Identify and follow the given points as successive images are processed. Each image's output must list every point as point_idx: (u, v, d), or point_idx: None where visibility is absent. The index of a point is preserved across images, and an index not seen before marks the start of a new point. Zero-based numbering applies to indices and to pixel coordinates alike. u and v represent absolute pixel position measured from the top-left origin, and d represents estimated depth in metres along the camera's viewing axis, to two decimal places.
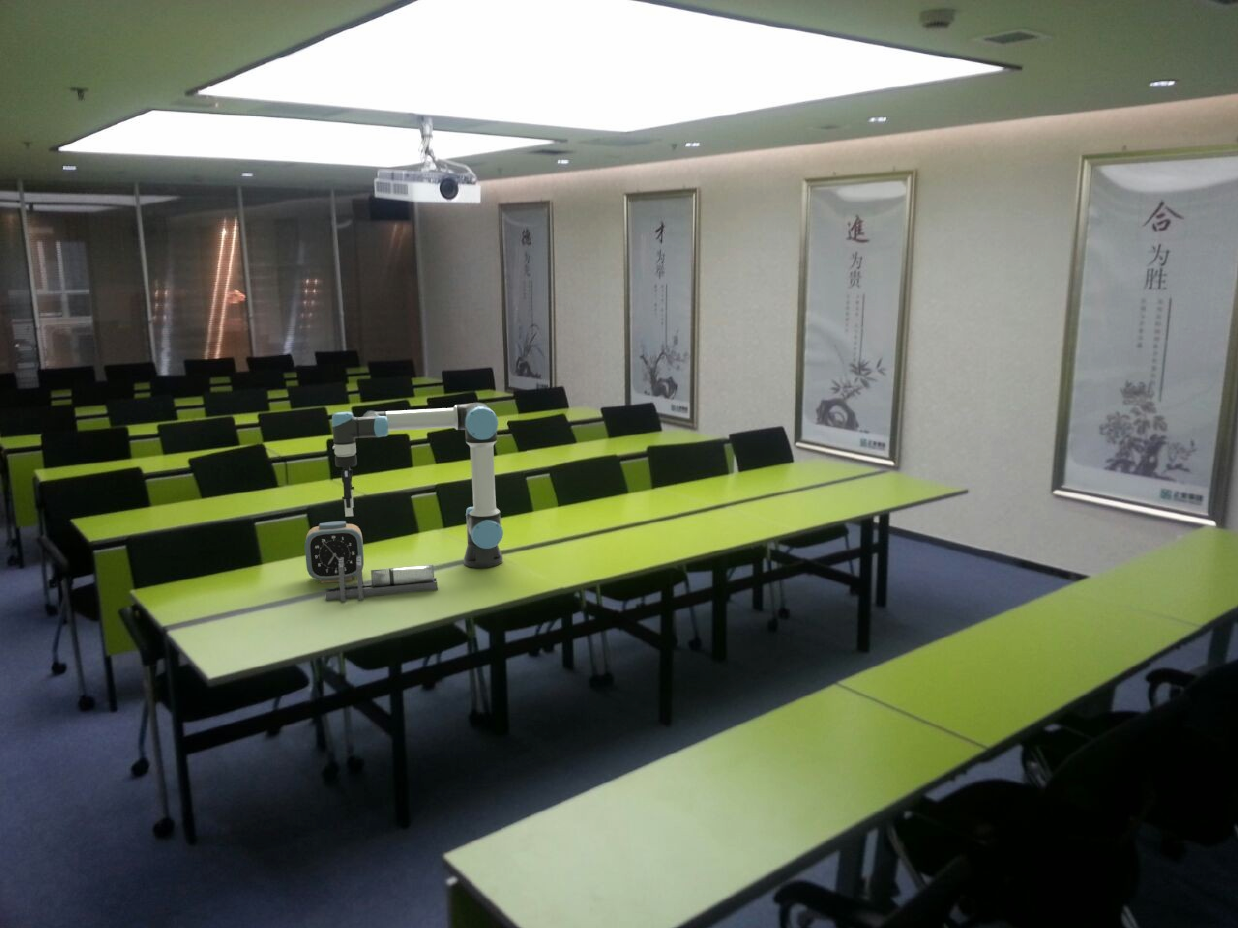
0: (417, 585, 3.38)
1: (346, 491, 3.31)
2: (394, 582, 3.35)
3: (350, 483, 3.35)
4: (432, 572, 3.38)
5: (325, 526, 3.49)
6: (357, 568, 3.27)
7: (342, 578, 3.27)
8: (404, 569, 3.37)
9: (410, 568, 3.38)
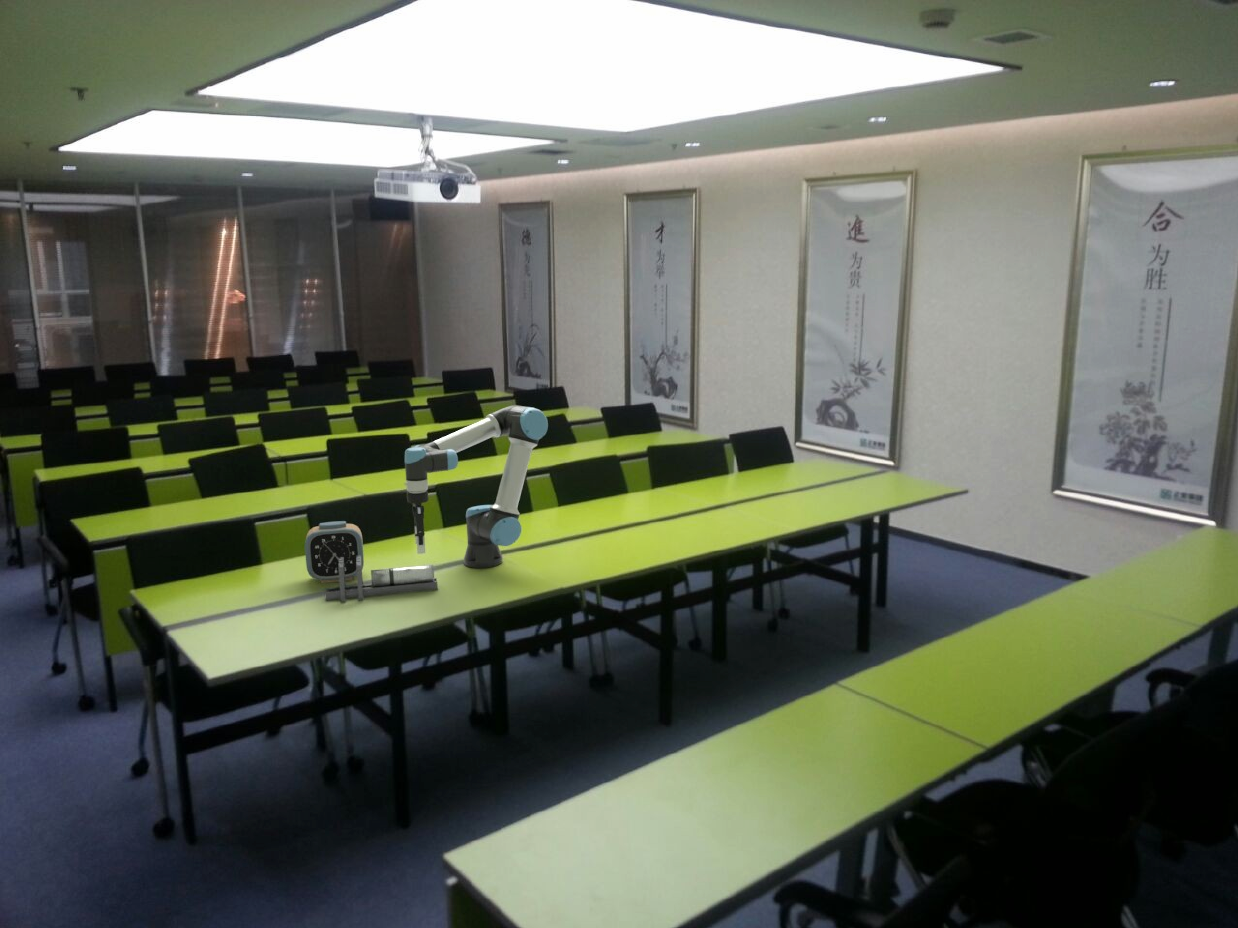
0: (417, 585, 3.38)
1: (419, 528, 3.27)
2: (394, 582, 3.35)
3: None
4: (432, 572, 3.38)
5: (325, 526, 3.49)
6: (357, 568, 3.27)
7: (342, 578, 3.27)
8: (404, 569, 3.37)
9: (410, 568, 3.38)
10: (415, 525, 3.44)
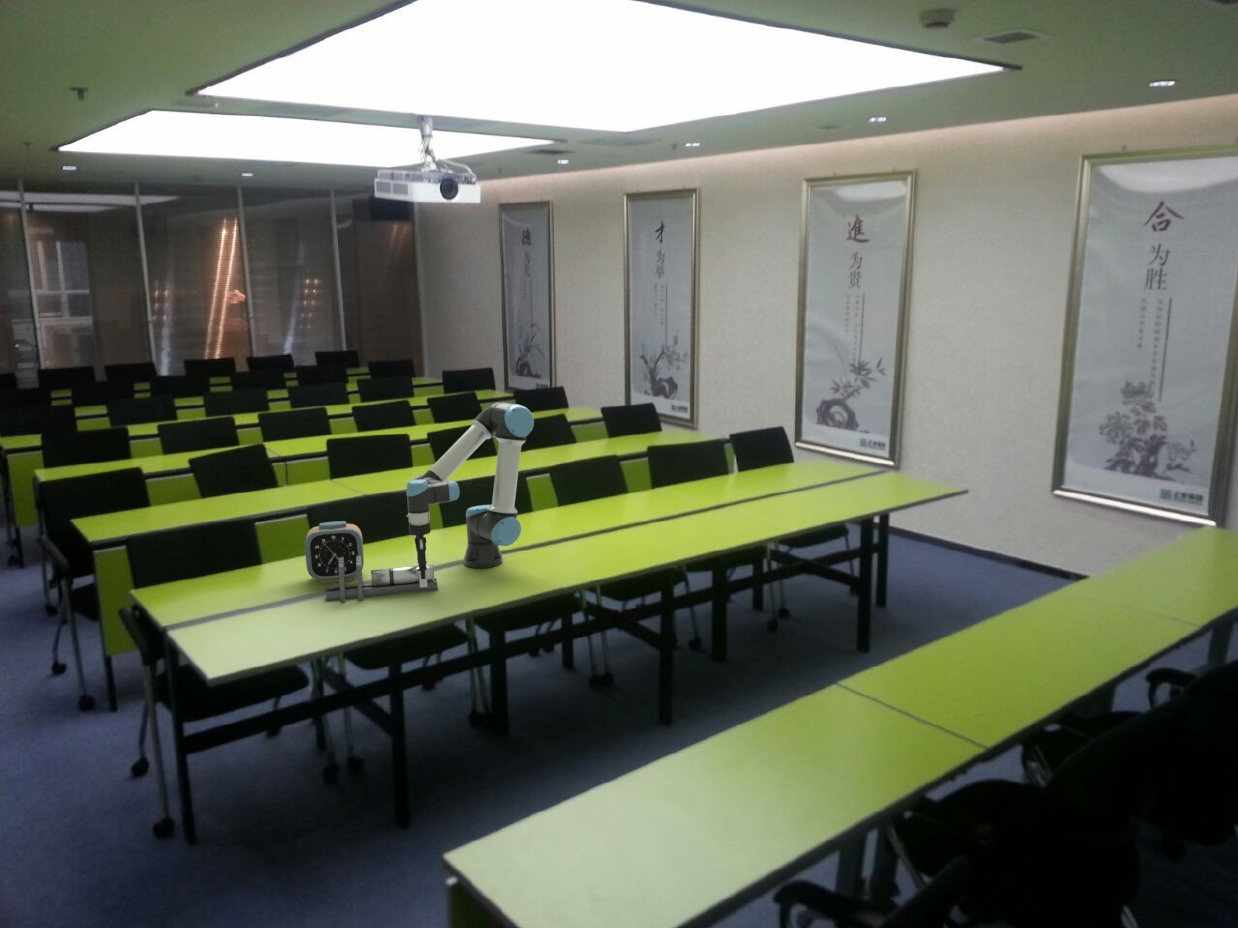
0: (417, 585, 3.38)
1: (421, 564, 3.33)
2: (394, 582, 3.35)
3: None
4: (432, 572, 3.38)
5: (325, 526, 3.49)
6: (357, 568, 3.27)
7: (342, 578, 3.27)
8: (404, 569, 3.37)
9: (410, 568, 3.38)
10: (418, 563, 3.43)
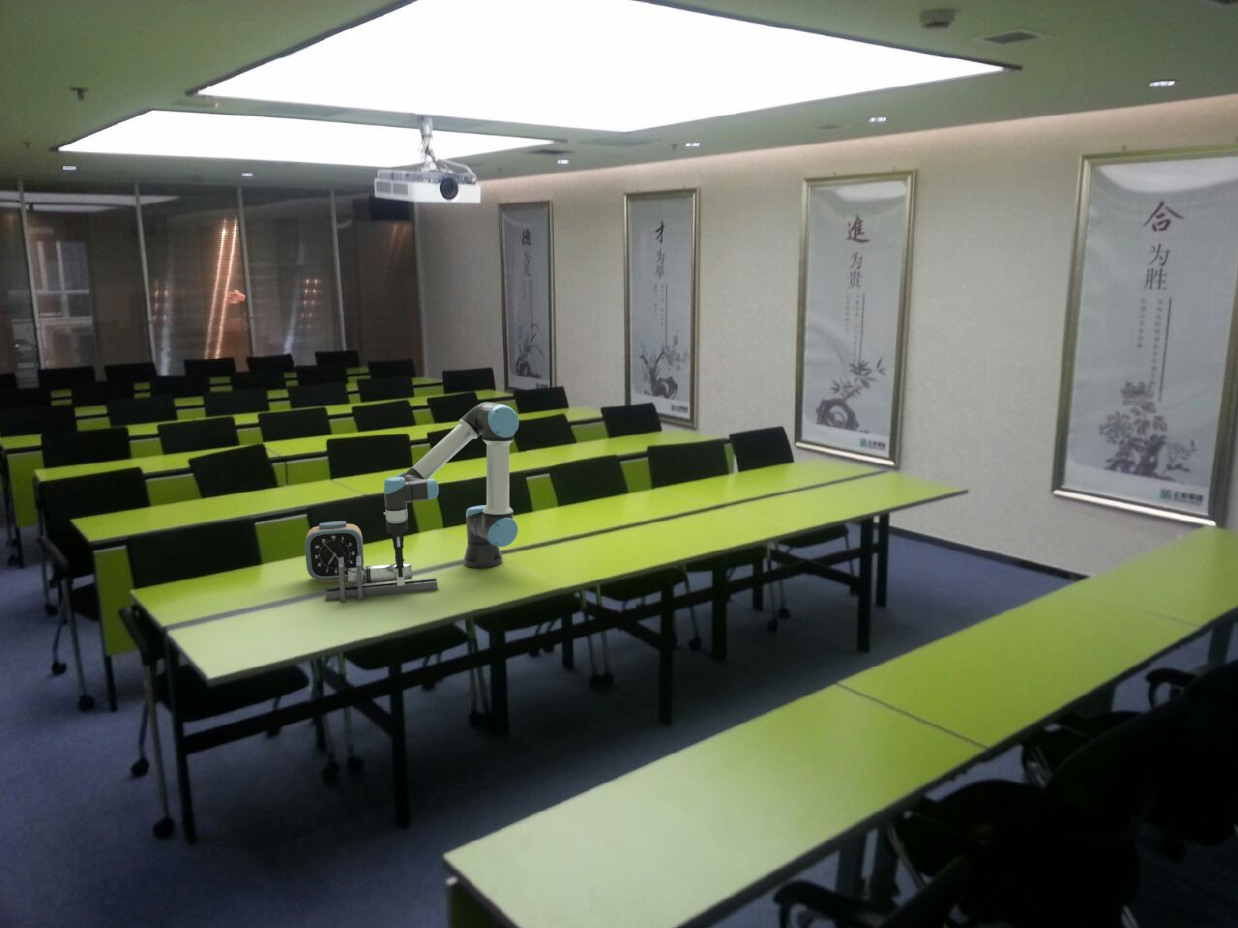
0: (417, 585, 3.38)
1: (399, 561, 3.30)
2: (371, 580, 3.33)
3: None
4: (410, 570, 3.36)
5: (325, 526, 3.49)
6: (357, 568, 3.27)
7: (342, 578, 3.27)
8: (381, 567, 3.34)
9: (387, 566, 3.35)
10: (396, 561, 3.40)
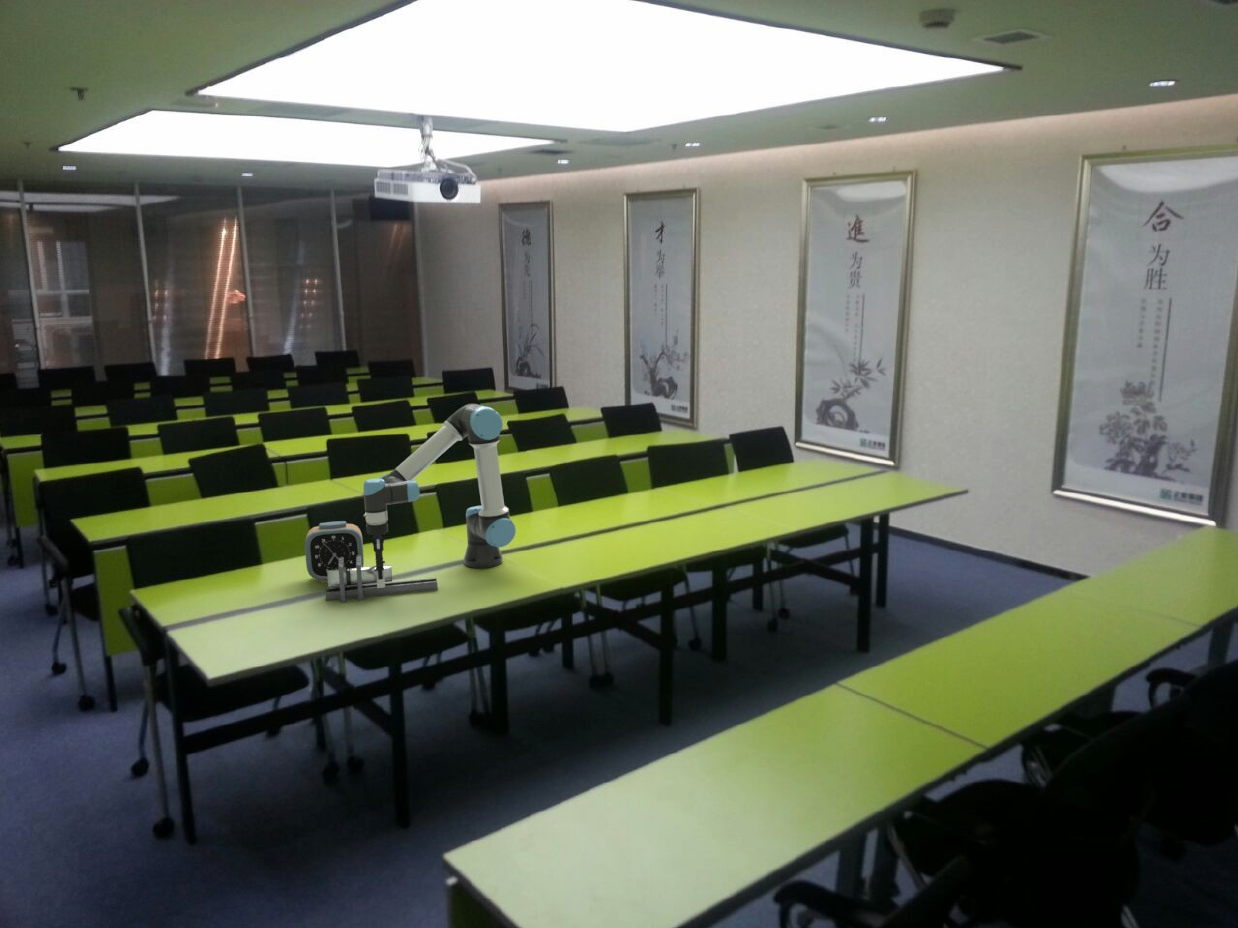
0: (417, 585, 3.38)
1: (378, 564, 3.29)
2: (351, 582, 3.31)
3: None
4: (390, 572, 3.34)
5: (325, 526, 3.49)
6: (357, 568, 3.27)
7: (342, 578, 3.27)
8: (361, 569, 3.33)
9: (367, 568, 3.34)
10: None
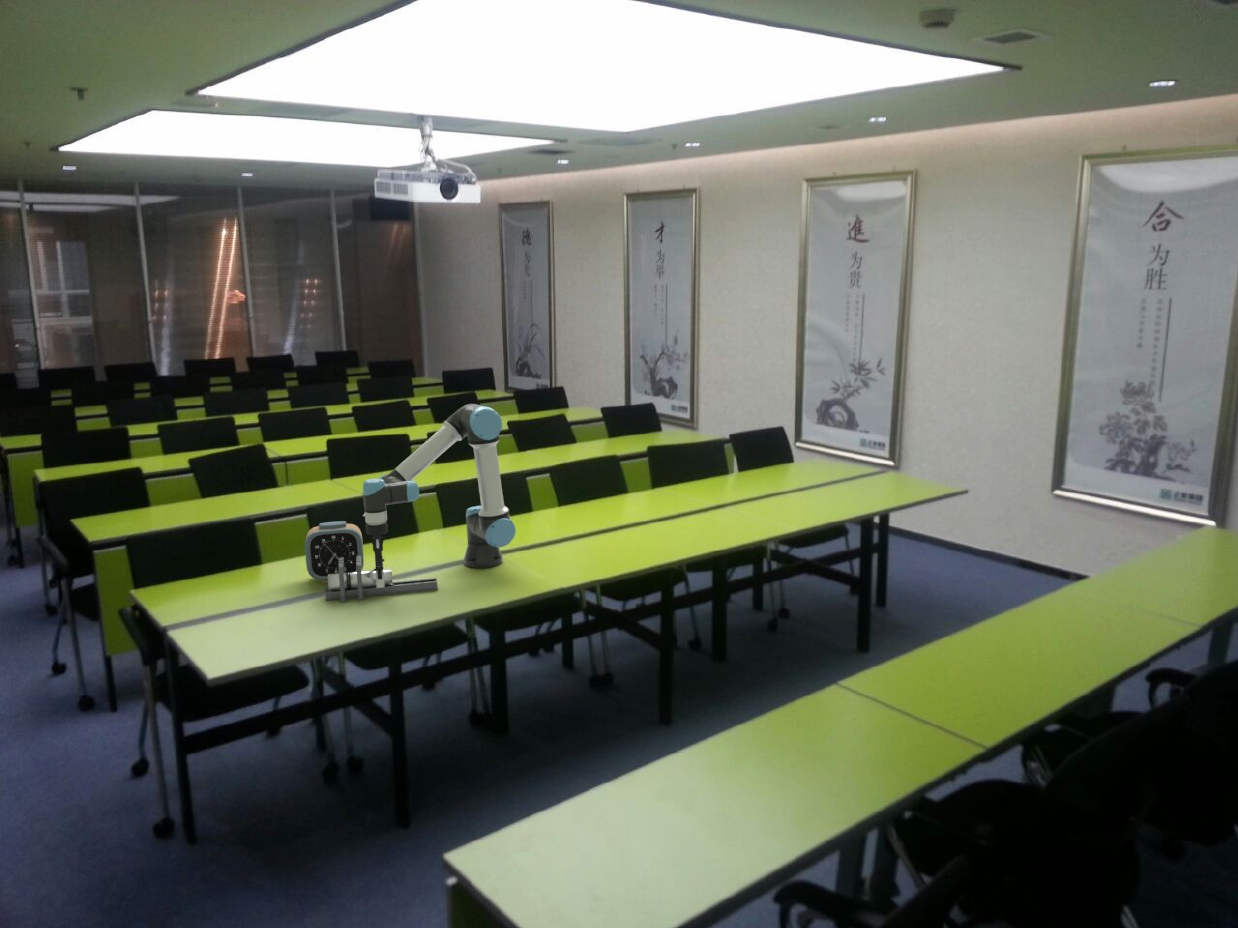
0: (417, 585, 3.38)
1: (378, 563, 3.28)
2: (351, 586, 3.32)
3: None
4: (390, 576, 3.34)
5: (325, 526, 3.49)
6: (357, 568, 3.27)
7: (342, 578, 3.27)
8: (361, 573, 3.33)
9: (368, 572, 3.34)
10: None
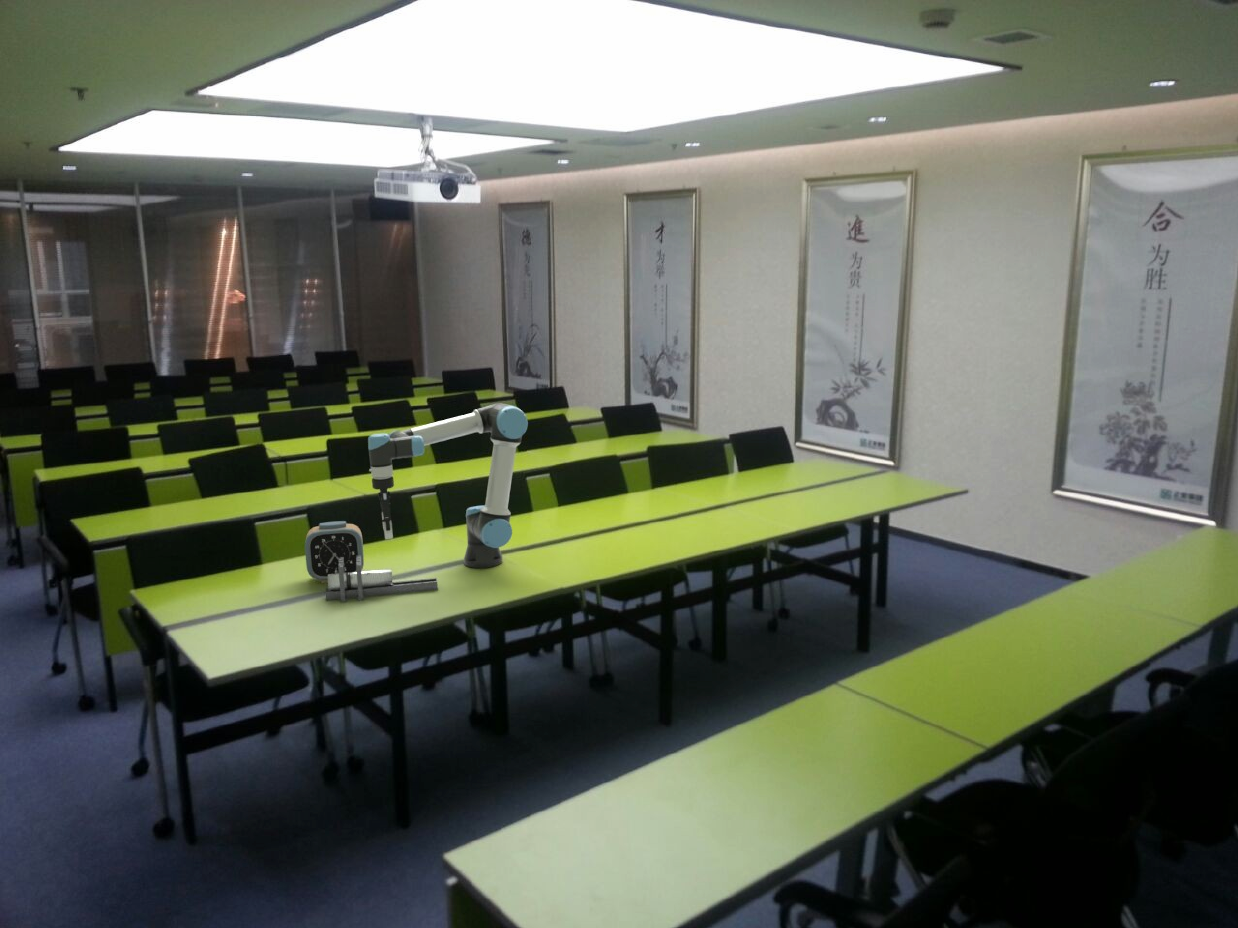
0: (417, 585, 3.38)
1: (386, 514, 3.28)
2: (351, 586, 3.32)
3: None
4: (390, 576, 3.34)
5: (325, 526, 3.49)
6: (357, 568, 3.27)
7: (342, 578, 3.27)
8: (361, 573, 3.33)
9: (368, 572, 3.34)
10: (382, 511, 3.44)
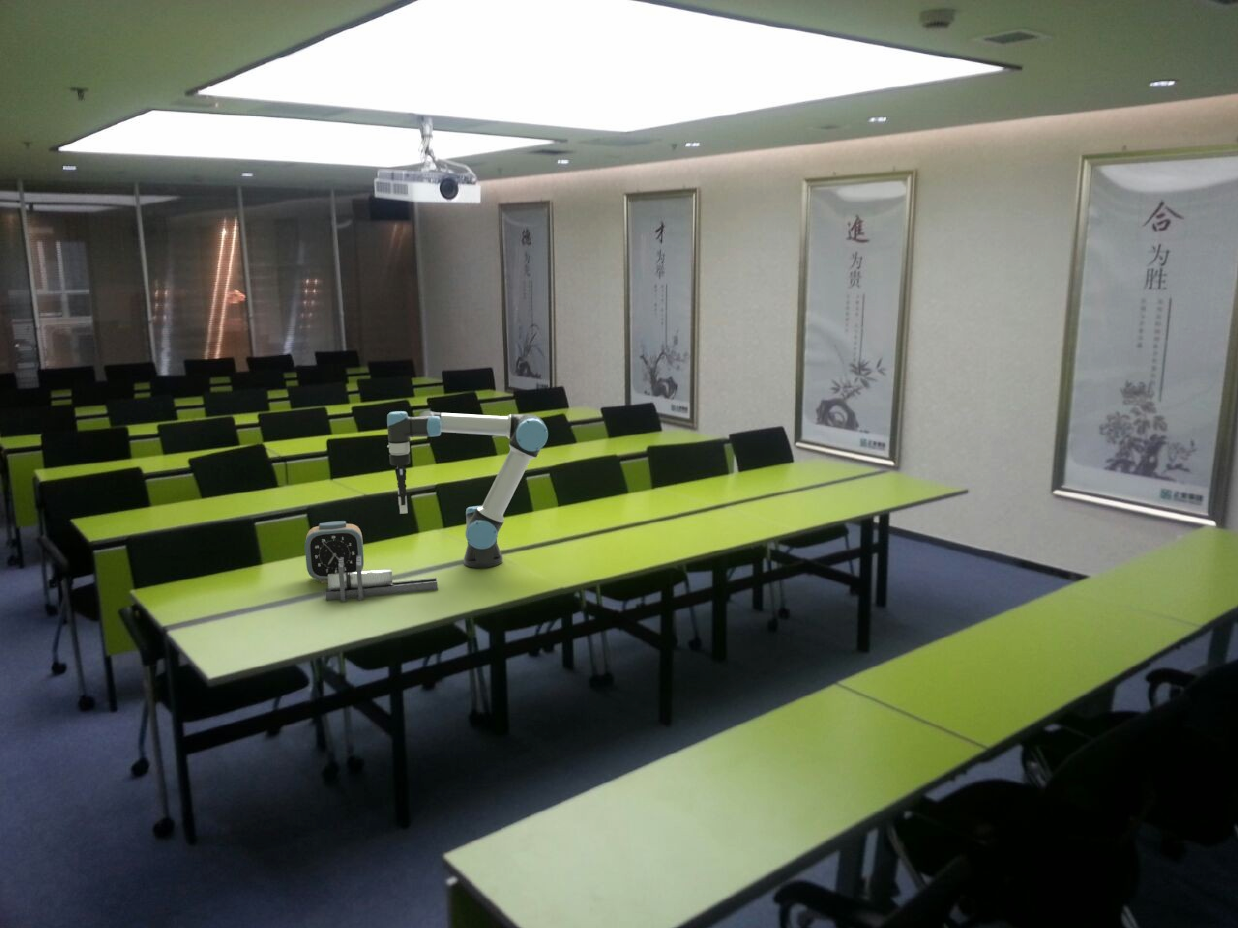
0: (417, 585, 3.38)
1: (401, 489, 3.39)
2: (351, 586, 3.32)
3: None
4: (390, 576, 3.34)
5: (325, 526, 3.49)
6: (357, 568, 3.27)
7: (342, 578, 3.27)
8: (361, 573, 3.33)
9: (368, 572, 3.34)
10: (398, 487, 3.55)
